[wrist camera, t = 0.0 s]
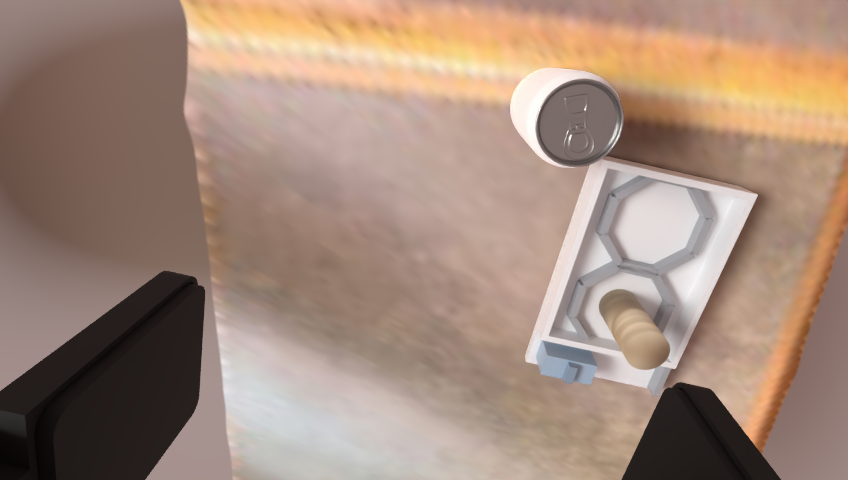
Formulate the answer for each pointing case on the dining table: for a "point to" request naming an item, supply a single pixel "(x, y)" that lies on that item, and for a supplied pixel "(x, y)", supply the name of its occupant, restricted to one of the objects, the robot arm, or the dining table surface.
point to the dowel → (633, 330)
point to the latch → (566, 362)
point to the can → (567, 116)
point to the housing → (640, 260)
